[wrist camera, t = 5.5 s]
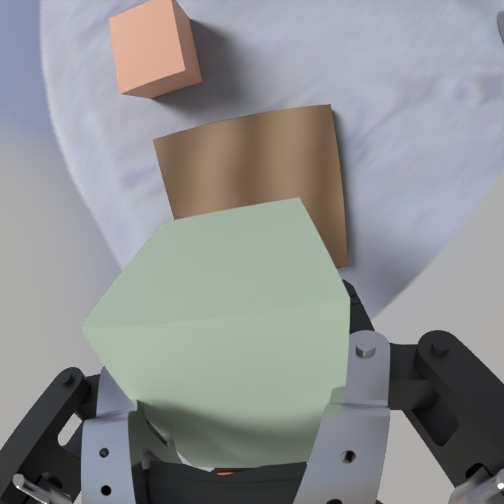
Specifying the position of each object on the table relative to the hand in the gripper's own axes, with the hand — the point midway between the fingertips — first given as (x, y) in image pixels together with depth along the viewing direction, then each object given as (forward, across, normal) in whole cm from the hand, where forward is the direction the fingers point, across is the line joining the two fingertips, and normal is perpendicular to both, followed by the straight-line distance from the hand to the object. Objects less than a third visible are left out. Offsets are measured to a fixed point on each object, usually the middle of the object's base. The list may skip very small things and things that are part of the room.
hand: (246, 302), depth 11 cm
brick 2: (+1, 0, 0) cm, 1 cm away
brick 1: (+16, +5, -15) cm, 22 cm away
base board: (+16, 0, 0) cm, 16 cm away
